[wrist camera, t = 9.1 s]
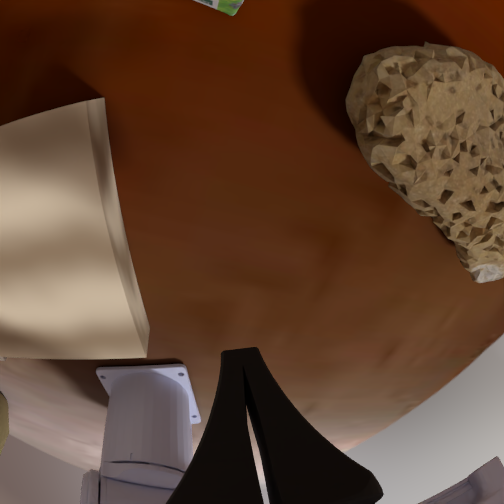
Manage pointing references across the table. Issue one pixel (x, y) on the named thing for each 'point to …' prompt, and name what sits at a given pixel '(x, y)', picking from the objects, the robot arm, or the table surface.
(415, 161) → the sponge
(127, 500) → the robot arm
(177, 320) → the table surface
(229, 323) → the table surface
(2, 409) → the squeeze bottle
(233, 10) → the syrup box
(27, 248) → the platform
